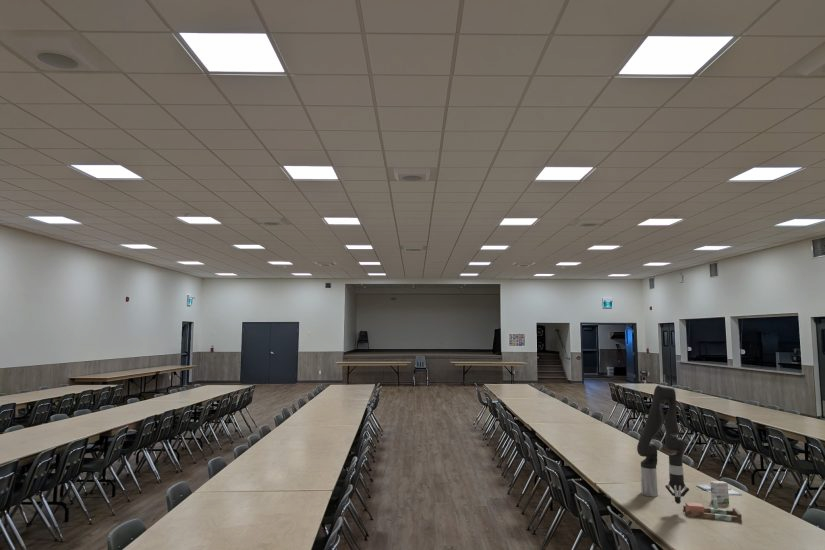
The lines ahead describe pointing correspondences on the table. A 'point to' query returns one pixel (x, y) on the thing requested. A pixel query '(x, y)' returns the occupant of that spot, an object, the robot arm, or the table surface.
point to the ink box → (719, 491)
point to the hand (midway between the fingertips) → (677, 503)
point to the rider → (694, 507)
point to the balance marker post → (715, 503)
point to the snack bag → (708, 488)
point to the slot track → (717, 514)
